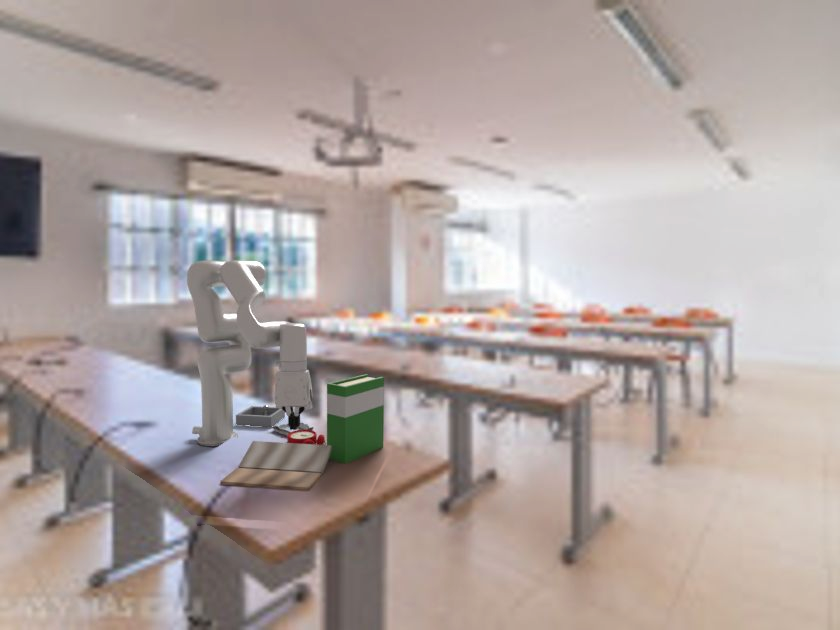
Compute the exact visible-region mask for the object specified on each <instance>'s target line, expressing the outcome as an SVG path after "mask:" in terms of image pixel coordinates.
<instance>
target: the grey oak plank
mask: <svg viewBox="0 0 840 630" xmlns="http://www.w3.org/2000/svg"><path fill="white" fill-rule="evenodd" d="M331 450H332V447H331V445H327V444H326V445H325V444H321V445H317V444H316V445H315V444H297V443H287V442H281V441H280V442H278V441H277V442H276V441H263V440H262V441H260V440H258V441H257V440H252V442H251V443H250V445H249V447H248V449H247V451H246V452H245V454H244V456H243V457H242V460H241V461H240V463H239V464H238V466H237V468H247V469H263V470H278V471H294V472H309V473H321V475H324V472H325V469H326V466H327V464H328V461H329V459H328V458H329V456H330V453H331Z"/></svg>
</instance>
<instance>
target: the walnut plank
mask: <svg viewBox="0 0 840 630" xmlns="http://www.w3.org/2000/svg"><path fill="white" fill-rule="evenodd" d="M321 475H322V474H321V473H309V472H294V471H278V470H263V469H247V468H239V467H236V468H235V469H234V470H232V471H231V472H230V473H229V474H228V475H226V476H225V477H224V478H222V479H221V480H220V485H226V486H243V487H255V488H258V487H259V488H270V489H282V490H283V489H286V490H301V491H310V490H311V489H312V488H313V487H314V485H315V484H316V483H317V482H318V480H319V479H320V477H321Z"/></svg>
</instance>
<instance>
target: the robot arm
mask: <svg viewBox="0 0 840 630" xmlns="http://www.w3.org/2000/svg"><path fill="white" fill-rule="evenodd" d="M266 281H267V271H266V268H265V266H264V265H263V264H261V262H259V261H256V260H239V259H238V260H237V259H236V260H235V259H234V260H212V259H211V260H209V259H208V260H205V259H204V260H198V261H195V262H193V263H192V264H191V265H189V268H188V269H187V274H186V285H187V288H188V291H189V294H190V296H191V298H192V302H193V306H194V314H195V320H196V327H197V332H198V337H199V339H200V341H202V342H204V343H208V344H213V343H215V344H216V343H223V342H228V345H220V346H219V345H218V346H212V347H208V348H205V349H203V350H202V351H201V352H199V354H198V356H197V359H196V362H197V367H198V371H199V377H200V387H201V388H200V390H201V391H200V392H201V422H202V423H201V425H202V426H198V425H197V426H193V427H192V431H191V433H192V434H193V435H199V436H198V437H197V441H196V442H197V444H198V445H200V446H203V445H204V447H219V446H218V445H220V446H221V445H223V444H225V443H226V442H227V441H229V440H230V439H232V438H239V434H238V433H237V432H235V431H234V412H233V411H234V408H233V407H234V406H233V405H234V403H233V385H232V384H231V382H230V381H229V379H228V377H227V376H226V375H229V374H233V373H240V372H243V371H247V370H248V369H249V368H250V366H251V364H252V359H253V358H252V350H251V348H253V349H256V350H260V349H262V350H263V349H269V348H277V347H279V361H275V364H274V365H275V367H278V369H279V370H277V371H276V375H275V382H274V391H273V392H274V395H273V402H274V405H275V407H276V408H278V409H283V410H284V412H285V413H286V414H285V415H286V416H287V418H288V419H287V424H288V425H289V426H290V427H289V431H290V430H291V431H292V430H293V431H297V430H298V428H299V426H300V423H301V414H302V413H303V412H304V411H309V410H312V408H313V403H312V402H313V386H312V379H311V375H310V374H311V373H310V370H309V369H308V363H307V362H308V360H307V359H308V358H307V355H308V353H307V342H308V340H307V326H306V325H305V324H303V323H301V322H300V323H297V322H293V323H292V322H289V321H286V320H276V321H263V322H259V321H258V320H257V319H256V317H255V316H254V314H253V313H252V311H254V310H255V309H257V308H259V307H260V306H261V305H262V304H263V303H264V301H265V299H266V293H265V290H263V288H262V286H263V285H264V284H265V283H266ZM213 287H226V288H227V290H228V291H229V293H230V294H231V295H232V297H233V299H234V301H236V304H237V305H238V308H237V310H236V313H234V312H233V313H232V312H231V313H230V312H229V313H225V312H224V308H223V302H222V300H221V297H220V296H219V294H218V293H217V292H216V291H215V290H214V289H213Z"/></svg>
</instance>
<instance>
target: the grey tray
mask: <svg viewBox="0 0 840 630" xmlns="http://www.w3.org/2000/svg"><path fill="white" fill-rule="evenodd" d="M264 411H265V410H263V406H260V405H259V406H256V405H255V406H254V405H251V406H249V407H247V408H246V409H244V410H242V411H240V412H238V414H236V415H235V425H236V424H237V425H250V426H262V427H261V428H268V427H271V426H276V425H277V424H279V421H280V420H281V419H282V418H284V417H285V418H286V414H285V412H284V410H283V409H278V408H276V406H268V410H266V411H267V412H268V413H267V416H265V413H264V414H263V412H264ZM269 413H271V414H269ZM258 414H259V415H258ZM268 415H269V416H268ZM285 418H284V419H285ZM282 420H283V419H282ZM282 420H281V421H282ZM281 421H280V422H281ZM276 423H277V424H276ZM275 424H276V425H275ZM250 426H249V427H250Z"/></svg>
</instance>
